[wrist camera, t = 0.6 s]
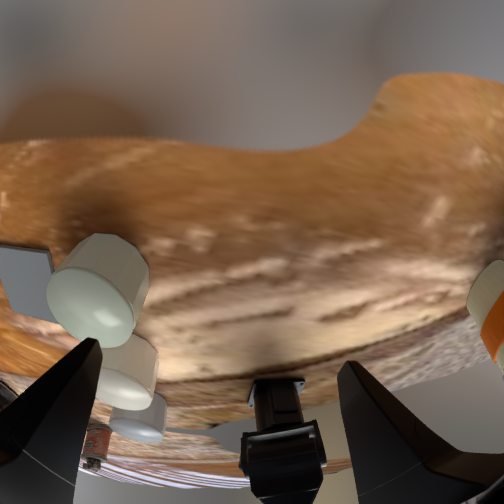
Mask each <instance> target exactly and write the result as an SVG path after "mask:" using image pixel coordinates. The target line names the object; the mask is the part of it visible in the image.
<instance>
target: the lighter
mask: <svg viewBox="0 0 504 504" xmlns="http://www.w3.org/2000/svg"><path fill="white" fill-rule="evenodd" d="M112 431H113V430H112V429H111V428H110V427H109V426H107V425H104V424H96V425H91V426H89V427H88V428H87V436H86V440H85V445H84V449H83V454H81V458H83V459H84V460H87V463H83V469H85V470H91V471H94V472H97V471H98V470H100V469H101V463H106V462H107V458H106V457H107V451H108V446H109V441H110V436H111V434H112Z"/></svg>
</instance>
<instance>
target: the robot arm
mask: <svg viewBox="0 0 504 504" xmlns="http://www.w3.org/2000/svg"><path fill="white" fill-rule="evenodd" d="M102 360H103V354H102V350H101V347H100V343H99V341H98V339H95V338H91V337H87V338H85V339H84V340H83V341H82V342H81V343H79V344H78V345H77V346H76V347H75V348H73V349H72V350H71V351H70V352H69V353H67V354H66V355H65V356H64V357H63V358H62V359H60V360H59V361H58V362H57V363H56V364H55V365H53V366H52V367H51V368H50V369H49V370H48V371H47V372H45V373H44V374H43V375H42V376H41V377H40V378H38V379H37V380H36V381H35V382H34V383H33V384H32V385H31V386H29V387H28V388H27V389H26V390H25V391H24V392H23V393H22V394H20V395H19V396H18V397H17V398H16V399H15V400H14V401H12V402H11V403H10V404H9V405H8V406H6V407H5V408H4V409H3V410H1V411H0V504H73V497H74V490H75V483H76V477H77V472H78V467H79V461H80V457H81V452H82V447H83V443H84V439H85V434H86V430H87V426H88V422H89V418H90V415H91V411H92V407H93V404H94V400H95V396H96V392H97V386H98V381H99V375H100V370H101V365H102ZM337 382H338V390H339V399H340V407H341V414H342V419H343V423H344V428H345V432H346V437H347V442H348V446H349V452H350V457H351V462H352V467H353V472H354V477H355V483H356V489H357V494H358V501H359V504H504V453H502V454H488V453H470V452H463V451H460V450H458V449H456V448H455V447H453V446H452V445H450V444H449V443H448V442H446V441H445V440H444V439H442V438H441V437H440V436H438V435H437V434H436V433H434V432H433V431H432V430H431V429H429V428H428V427H427V426H426V425H425V424H424V423H423V422H422V421H420V420H419V419H418V418H417V417H416V416H415V415H414V414H413V413H412V412H411V411H410V410H408V408H406V407H405V406H404V405H403V404H402V403H401V402H400V401H399V400H398V399H397V398H396V397H395V396H394V395H393V394H391V393H390V392H389V391H388V390H387V389H386V388H385V387H384V386H383V385H382V384H381V383H380V382H379V381H378V380H377V379H376V378H375V377H373V376H372V375H371V374H370V373H369V372H368V371H367V370H366V369H365V368H364V367H363V366H362V365H361V364H360V363H359V362H357V361H355V360H350V361H346V362H345V363H344V365H343V366H342V368H341V369H340V371H339V373H338V375H337ZM305 384H306V382H305V380H304V379H294V380H255V381H254V382H253V386H252V389H251V393H250V397H249V400H248V407H254V408H255V418H256V427H257V432H249V433H248V432H243V437H242V438H241V455H240V460H239V469H241V470H242V471H243V473H244V475H245V477H246V479H247V480H250V485H251V491H252V492H253V494H254V495H255V496H256V498H259V499H260V500H261V502H262V503H263V504H313V501H314V499H315V497H316V495H317V493H318V491H319V488H320V486H321V484H322V481H323V473H322V467H326V466H327V460H326V454H325V450H324V446H323V442H322V439H321V435H320V431H319V428H318V424H317V421H316V419H315V420H312V421H310V422H305V423H304V418H303V414H302V409H301V405H300V400H299V395H300V393H301V392H302V390H303V388H304V386H305Z"/></svg>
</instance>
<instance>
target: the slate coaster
mask: <svg viewBox="0 0 504 504" xmlns="http://www.w3.org/2000/svg"><path fill="white" fill-rule="evenodd" d="M54 272H55V271H54V267H53V263H52V259H51V254H50V251H48V250H40V249H32V248H24V247H16V246H9V245H1V244H0V278H1V281H2V284H3V287H4V289H5V292H6V295H7V297H8V300H9V302H10V305H11V307H12V309H13V312H16V313H19V314H23V315H26V316H30V317H33V318H37V319H41V320H45V321H49V322H53V323H57V324H59V323H58V321H57V320H56V319H55V317H54V316H53V314H52V312H51V310H50V308H49V305H48V302H47V296H46V291H47V286H48V283H49V281H50V279H51V277H52V274H53V273H54Z"/></svg>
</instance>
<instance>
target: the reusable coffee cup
mask: <svg viewBox="0 0 504 504" xmlns="http://www.w3.org/2000/svg"><path fill="white" fill-rule="evenodd" d="M467 309H468V311H469V312H470V314H471V316H472V317H473V319H474V321H475V322H476V324H477V326H478V327H479V329H480V331H481V334H480V336H481V339H482V340H483V342H484V344H485V346H486V348H487V350H488V352H489V354H490V356H491V358H492V360H493V362H495V363H498V365H499V367H500V369H501V371H502V374H503V380H504V261H502V260H495V261H493V262H492V263H490V264H489V265H488V266H487V267H486V268H485V269H484V270H483V271H482V272H481V274H480V275H479V276H478V278H477V279H476V281H475V282H474V284H473V286H472V288H471V290H470V292H469V295H468V298H467Z"/></svg>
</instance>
